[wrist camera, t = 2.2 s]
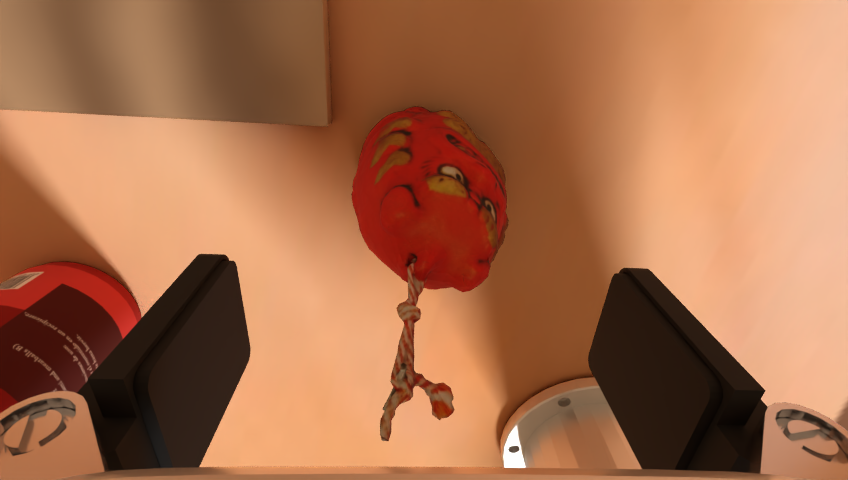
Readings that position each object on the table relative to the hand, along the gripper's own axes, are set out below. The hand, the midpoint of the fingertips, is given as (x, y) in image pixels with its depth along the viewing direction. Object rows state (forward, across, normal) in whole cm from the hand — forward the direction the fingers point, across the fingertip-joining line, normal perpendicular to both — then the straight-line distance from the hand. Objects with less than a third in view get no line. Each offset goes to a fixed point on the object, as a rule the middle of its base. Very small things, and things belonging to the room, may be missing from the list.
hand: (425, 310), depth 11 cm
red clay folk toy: (+14, -1, +1) cm, 14 cm away
